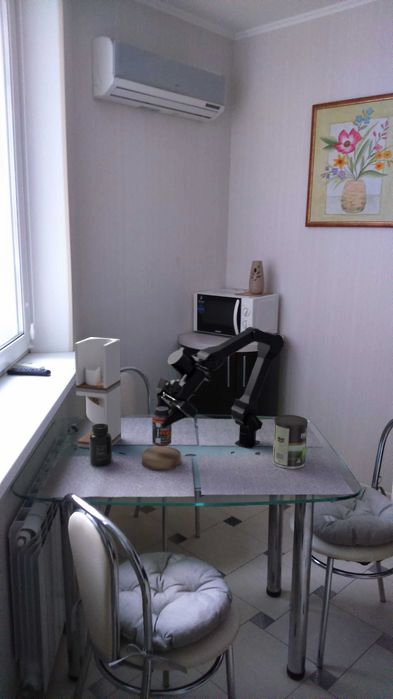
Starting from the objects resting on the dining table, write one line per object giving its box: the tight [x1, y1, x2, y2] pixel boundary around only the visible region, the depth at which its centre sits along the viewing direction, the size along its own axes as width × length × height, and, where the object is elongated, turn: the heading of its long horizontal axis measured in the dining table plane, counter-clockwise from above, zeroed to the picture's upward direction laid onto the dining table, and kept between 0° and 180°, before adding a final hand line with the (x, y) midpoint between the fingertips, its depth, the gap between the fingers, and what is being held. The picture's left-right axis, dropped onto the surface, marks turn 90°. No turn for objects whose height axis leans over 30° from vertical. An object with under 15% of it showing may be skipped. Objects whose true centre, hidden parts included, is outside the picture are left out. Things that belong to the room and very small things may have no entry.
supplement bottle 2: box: [151, 406, 173, 447], centre depth 167 cm, size 6×6×11 cm
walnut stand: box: [141, 445, 182, 472], centre depth 170 cm, size 12×12×3 cm
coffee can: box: [271, 414, 309, 470], centre depth 171 cm, size 10×10×14 cm
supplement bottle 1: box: [89, 424, 113, 468], centre depth 168 cm, size 7×7×12 cm
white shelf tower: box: [74, 336, 122, 449], centre depth 182 cm, size 11×11×35 cm
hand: (157, 423), depth 167 cm, fingers closed on supplement bottle 2, 6 cm apart
